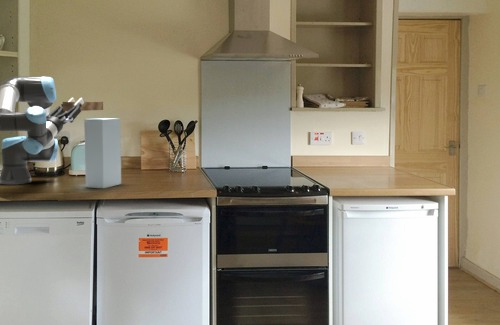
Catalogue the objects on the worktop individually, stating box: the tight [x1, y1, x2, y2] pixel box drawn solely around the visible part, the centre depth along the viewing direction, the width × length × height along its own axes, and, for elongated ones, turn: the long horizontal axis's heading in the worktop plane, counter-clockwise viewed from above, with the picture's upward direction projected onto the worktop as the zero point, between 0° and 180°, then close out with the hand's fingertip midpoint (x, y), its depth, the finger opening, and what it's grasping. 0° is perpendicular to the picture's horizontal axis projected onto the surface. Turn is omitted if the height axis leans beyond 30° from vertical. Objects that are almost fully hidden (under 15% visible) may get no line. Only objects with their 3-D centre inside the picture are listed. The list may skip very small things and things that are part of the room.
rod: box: [62, 101, 104, 112], centre depth 269 cm, size 26×4×4 cm, turn 162°
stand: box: [83, 117, 122, 189], centre depth 287 cm, size 16×10×33 cm, turn 161°
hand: (78, 100), depth 265 cm, fingers closed on rod, 4 cm apart
